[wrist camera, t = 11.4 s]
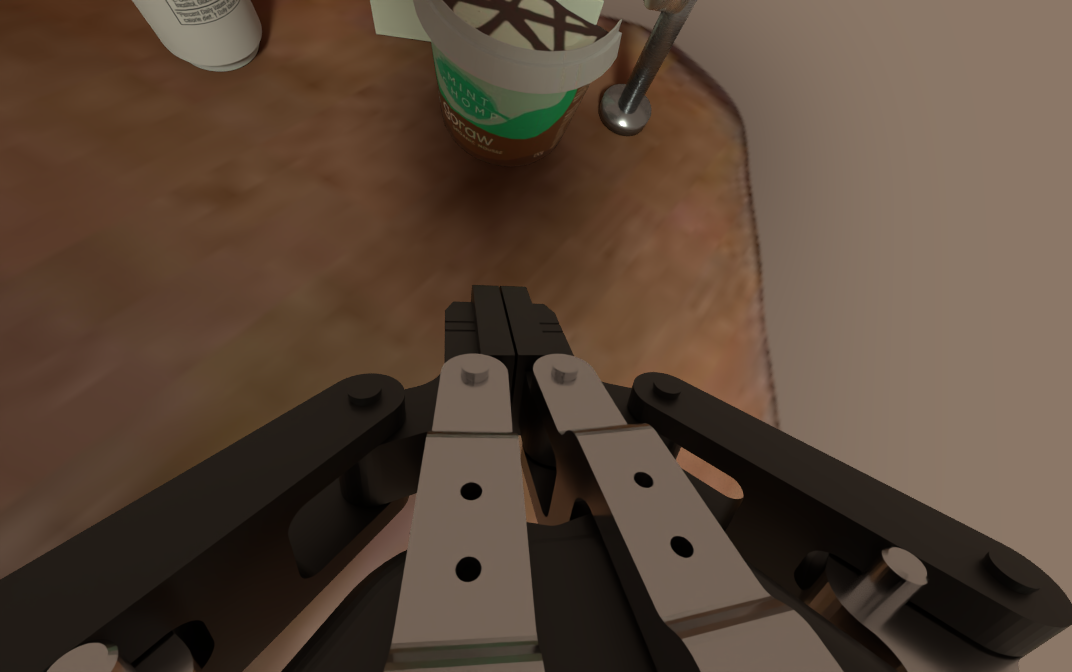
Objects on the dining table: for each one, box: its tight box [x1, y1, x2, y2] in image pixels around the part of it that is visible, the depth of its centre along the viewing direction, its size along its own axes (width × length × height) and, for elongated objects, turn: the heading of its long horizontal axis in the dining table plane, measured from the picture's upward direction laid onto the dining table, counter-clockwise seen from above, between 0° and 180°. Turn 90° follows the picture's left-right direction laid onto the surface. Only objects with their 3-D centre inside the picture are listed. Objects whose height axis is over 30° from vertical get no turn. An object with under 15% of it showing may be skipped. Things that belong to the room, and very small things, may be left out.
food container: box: [413, 0, 622, 166], centre depth 26 cm, size 12×6×10 cm, turn 65°
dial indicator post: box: [599, 0, 697, 136], centre depth 27 cm, size 4×4×13 cm
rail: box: [370, 0, 604, 42], centre depth 30 cm, size 16×1×6 cm, turn 92°
